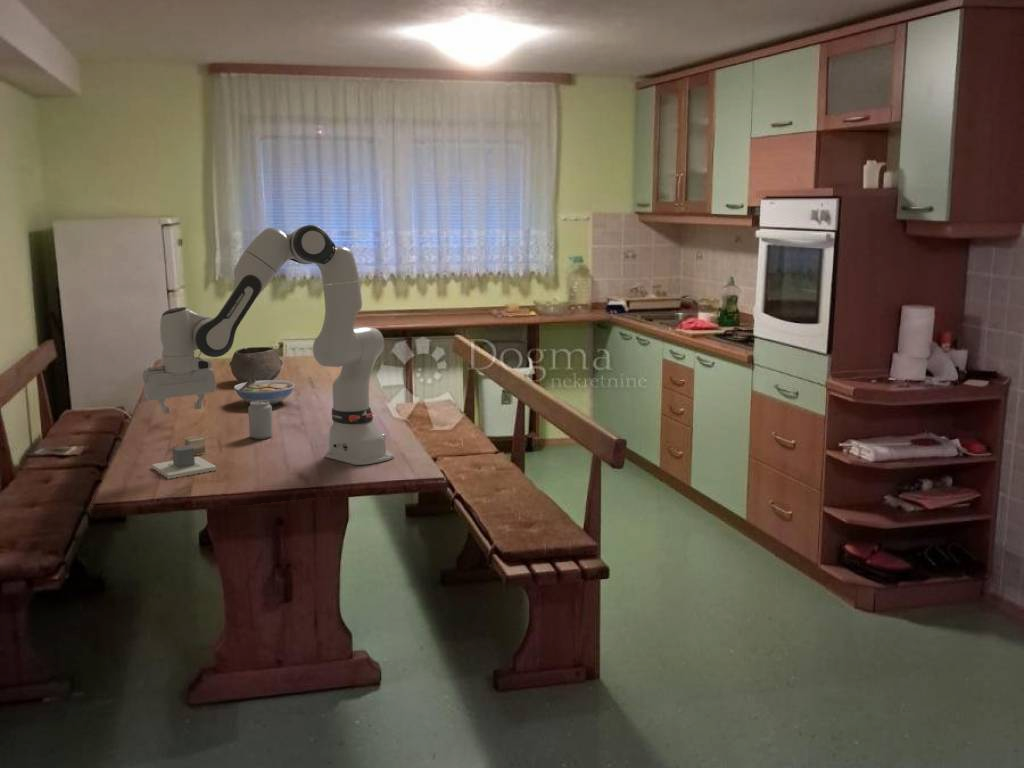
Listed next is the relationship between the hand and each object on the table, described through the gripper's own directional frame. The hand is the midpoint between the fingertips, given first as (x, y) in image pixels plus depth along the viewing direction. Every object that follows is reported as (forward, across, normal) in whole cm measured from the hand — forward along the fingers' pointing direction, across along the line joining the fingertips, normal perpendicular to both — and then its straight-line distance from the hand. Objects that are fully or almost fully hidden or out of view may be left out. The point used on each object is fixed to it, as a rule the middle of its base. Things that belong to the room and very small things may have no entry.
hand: (182, 411), depth 277 cm
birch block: (+17, +8, +14) cm, 24 cm away
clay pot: (+17, +73, +108) cm, 131 cm away
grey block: (+16, -1, -1) cm, 16 cm away
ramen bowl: (+17, +57, +67) cm, 90 cm away
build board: (+17, -1, -1) cm, 17 cm away
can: (+17, +33, +20) cm, 43 cm away
